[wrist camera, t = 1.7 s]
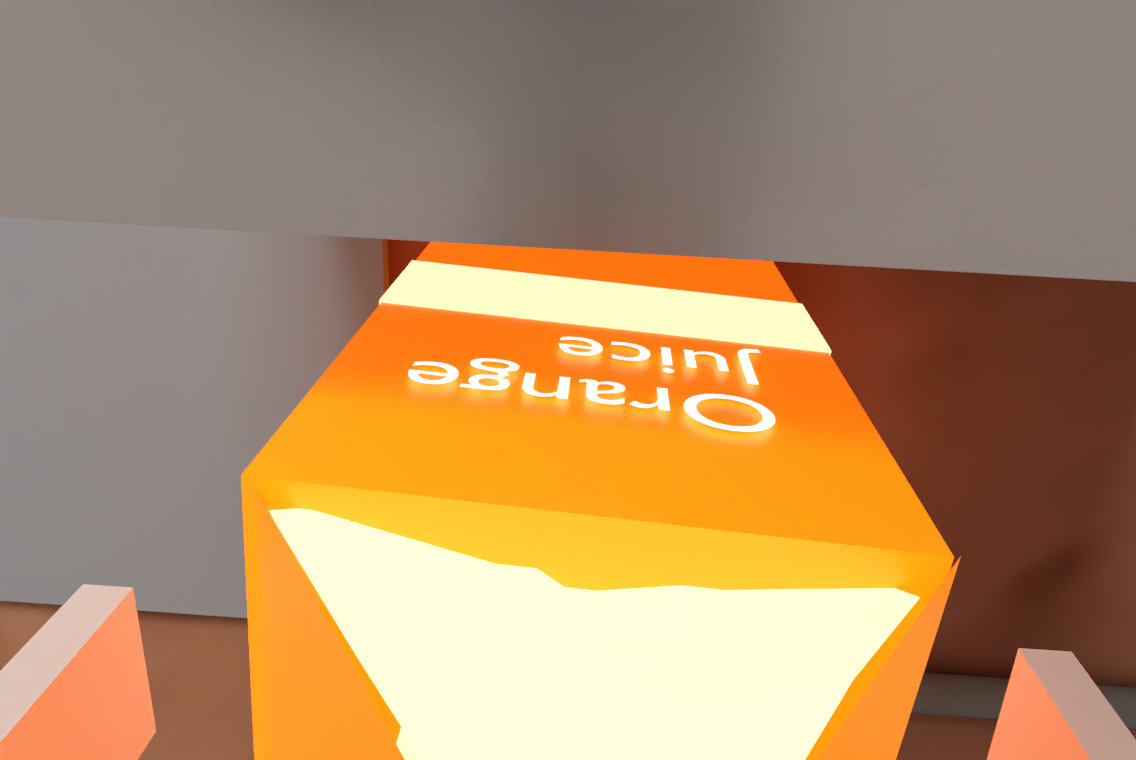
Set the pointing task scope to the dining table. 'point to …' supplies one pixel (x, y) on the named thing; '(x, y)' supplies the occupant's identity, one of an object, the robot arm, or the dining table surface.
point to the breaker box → (592, 125)
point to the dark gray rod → (996, 697)
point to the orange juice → (585, 527)
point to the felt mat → (155, 396)
